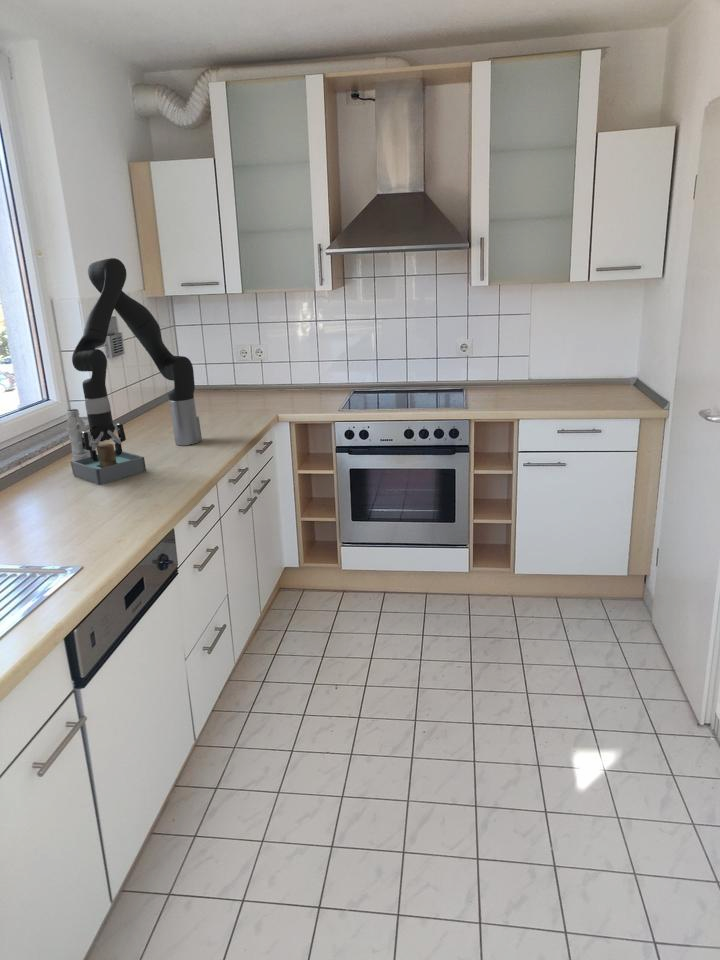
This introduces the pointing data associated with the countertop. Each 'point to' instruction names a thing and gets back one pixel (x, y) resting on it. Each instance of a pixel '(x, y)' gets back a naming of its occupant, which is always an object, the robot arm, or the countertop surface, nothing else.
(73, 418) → the plastic bottle
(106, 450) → the peg
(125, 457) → the box
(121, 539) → the countertop surface
